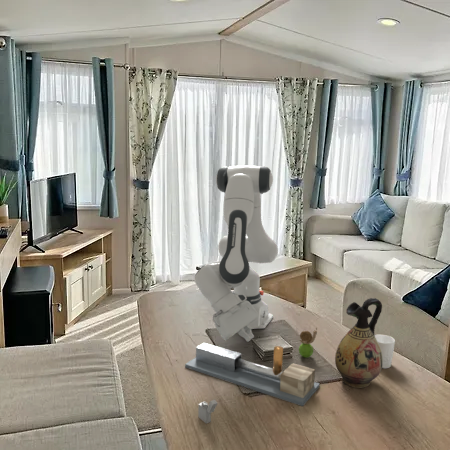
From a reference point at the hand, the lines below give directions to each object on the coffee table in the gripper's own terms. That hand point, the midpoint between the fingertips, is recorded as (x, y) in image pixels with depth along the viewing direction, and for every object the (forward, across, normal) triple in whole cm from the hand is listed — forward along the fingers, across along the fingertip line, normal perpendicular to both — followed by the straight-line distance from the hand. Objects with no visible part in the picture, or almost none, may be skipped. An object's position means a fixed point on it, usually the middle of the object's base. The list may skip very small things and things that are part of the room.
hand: (251, 339), depth 168 cm
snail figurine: (+18, +24, +2) cm, 30 cm away
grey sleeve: (0, -1, +18) cm, 18 cm away
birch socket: (+21, -1, -4) cm, 22 cm away
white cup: (+36, +34, -16) cm, 52 cm away
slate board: (+10, -1, +9) cm, 14 cm away
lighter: (+11, -31, +8) cm, 34 cm away
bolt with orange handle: (+11, -1, +5) cm, 12 cm away
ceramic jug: (+33, +17, -14) cm, 40 cm away
